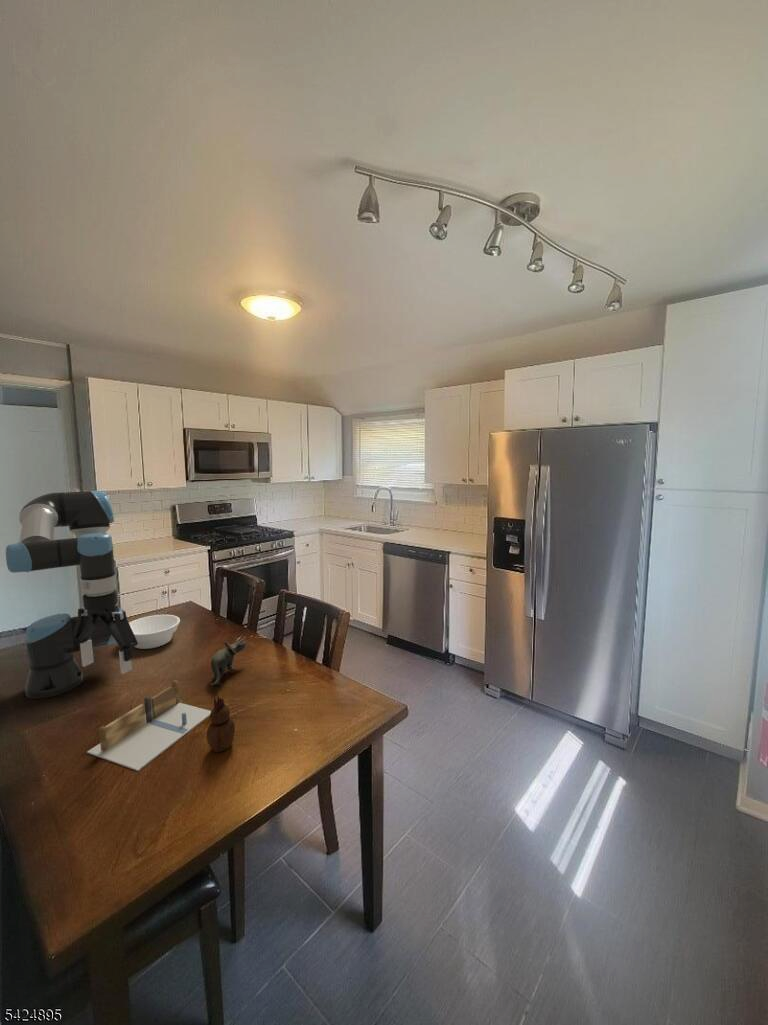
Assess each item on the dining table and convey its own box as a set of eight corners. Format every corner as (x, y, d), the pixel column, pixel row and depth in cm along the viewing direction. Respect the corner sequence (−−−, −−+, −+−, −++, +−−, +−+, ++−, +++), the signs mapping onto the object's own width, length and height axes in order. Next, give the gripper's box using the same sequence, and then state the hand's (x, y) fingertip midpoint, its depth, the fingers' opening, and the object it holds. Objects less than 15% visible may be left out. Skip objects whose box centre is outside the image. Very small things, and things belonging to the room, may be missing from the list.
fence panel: (142, 721, 119) (141, 702, 119) (146, 722, 119) (144, 703, 118) (99, 750, 108) (97, 728, 107) (103, 751, 107) (101, 730, 107)
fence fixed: (144, 723, 120) (142, 698, 119) (176, 702, 131) (175, 679, 130) (149, 724, 120) (147, 700, 119) (180, 703, 130) (178, 680, 129)
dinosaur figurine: (213, 696, 134) (211, 663, 132) (190, 693, 135) (188, 661, 134) (249, 663, 155) (247, 634, 153) (228, 661, 157) (226, 632, 155)
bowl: (164, 655, 162) (163, 634, 161) (110, 654, 162) (108, 634, 161) (190, 632, 183) (189, 614, 182) (142, 632, 183) (141, 614, 182)
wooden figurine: (217, 759, 106) (214, 703, 104) (203, 750, 109) (200, 696, 107) (239, 743, 112) (237, 691, 110) (225, 736, 115) (222, 684, 113)
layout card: (87, 753, 108) (86, 740, 108) (167, 700, 131) (167, 690, 131) (138, 771, 102) (137, 758, 101) (213, 712, 125) (212, 702, 125)
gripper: (50, 592, 111) (59, 667, 114) (123, 601, 104) (131, 681, 106) (78, 583, 118) (85, 655, 121) (149, 592, 111) (154, 667, 113)
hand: (106, 667), depth 114 cm, fingers open, 13 cm apart
